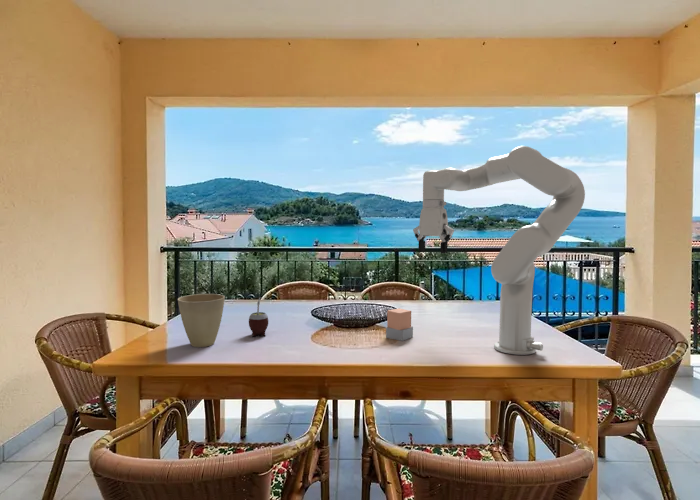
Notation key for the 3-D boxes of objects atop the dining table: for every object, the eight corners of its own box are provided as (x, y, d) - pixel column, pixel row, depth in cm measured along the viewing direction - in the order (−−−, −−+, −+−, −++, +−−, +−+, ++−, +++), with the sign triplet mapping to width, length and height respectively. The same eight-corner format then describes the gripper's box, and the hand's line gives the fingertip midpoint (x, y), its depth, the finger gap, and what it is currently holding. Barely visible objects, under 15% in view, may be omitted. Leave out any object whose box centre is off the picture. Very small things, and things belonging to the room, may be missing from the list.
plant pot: (179, 340, 149) (178, 295, 148) (223, 336, 154) (223, 292, 153) (178, 352, 135) (177, 302, 134) (227, 348, 140) (226, 299, 139)
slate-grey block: (412, 337, 155) (412, 326, 154) (403, 341, 149) (403, 330, 149) (396, 334, 159) (396, 323, 159) (386, 338, 153) (386, 327, 153)
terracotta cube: (411, 327, 153) (411, 310, 153) (399, 330, 149) (399, 313, 149) (398, 324, 158) (399, 308, 157) (387, 326, 154) (387, 310, 154)
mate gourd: (258, 332, 161) (257, 292, 160) (274, 334, 157) (274, 294, 156) (243, 336, 154) (243, 295, 154) (260, 339, 150) (259, 297, 149)
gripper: (459, 204, 152) (458, 253, 153) (420, 206, 164) (419, 250, 165) (447, 204, 146) (446, 254, 148) (408, 205, 159) (407, 251, 160)
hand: (432, 252), depth 156 cm, fingers open, 9 cm apart
